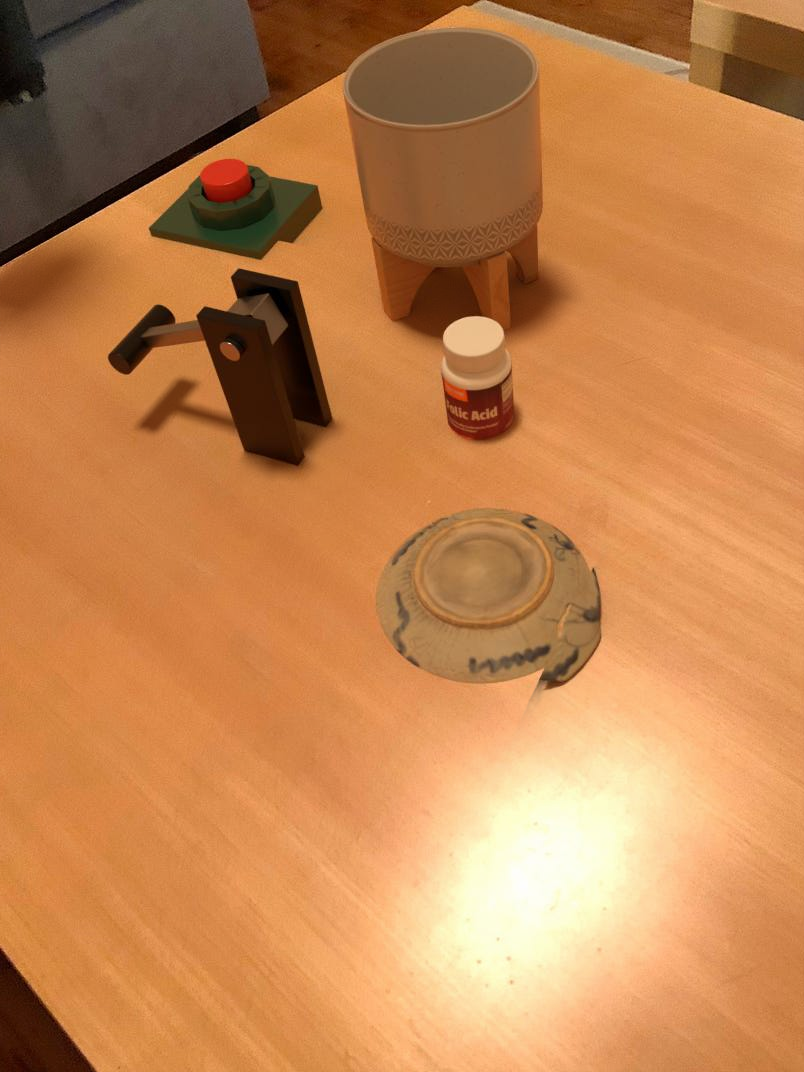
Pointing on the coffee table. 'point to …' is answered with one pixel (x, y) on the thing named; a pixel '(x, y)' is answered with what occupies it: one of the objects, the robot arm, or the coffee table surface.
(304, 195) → the button box
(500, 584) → the decorative bowl
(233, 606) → the coffee table surface
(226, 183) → the button
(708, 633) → the coffee table surface
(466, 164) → the planter
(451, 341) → the pill bottle
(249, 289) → the bracket
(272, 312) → the lever
